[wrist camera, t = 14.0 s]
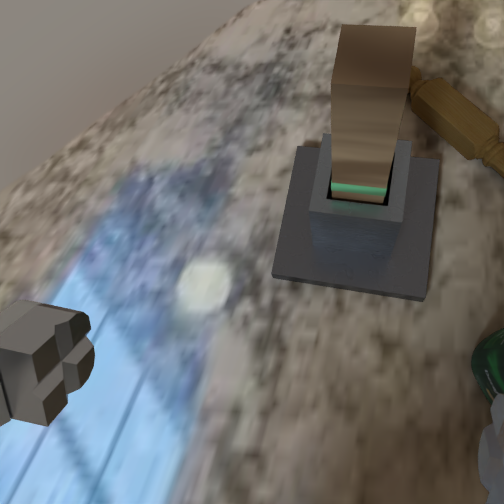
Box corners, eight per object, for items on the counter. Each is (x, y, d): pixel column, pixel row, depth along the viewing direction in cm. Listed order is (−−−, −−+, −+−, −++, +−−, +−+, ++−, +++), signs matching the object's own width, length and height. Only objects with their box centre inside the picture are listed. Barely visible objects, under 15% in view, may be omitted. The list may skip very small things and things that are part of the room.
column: (381, 211, 38) (409, 89, 24) (331, 205, 39) (329, 84, 25) (387, 166, 40) (417, 26, 25) (338, 162, 40) (341, 23, 26)
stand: (422, 301, 43) (445, 271, 34) (273, 278, 46) (258, 244, 37) (436, 167, 47) (459, 108, 38) (298, 153, 50) (290, 96, 41)
